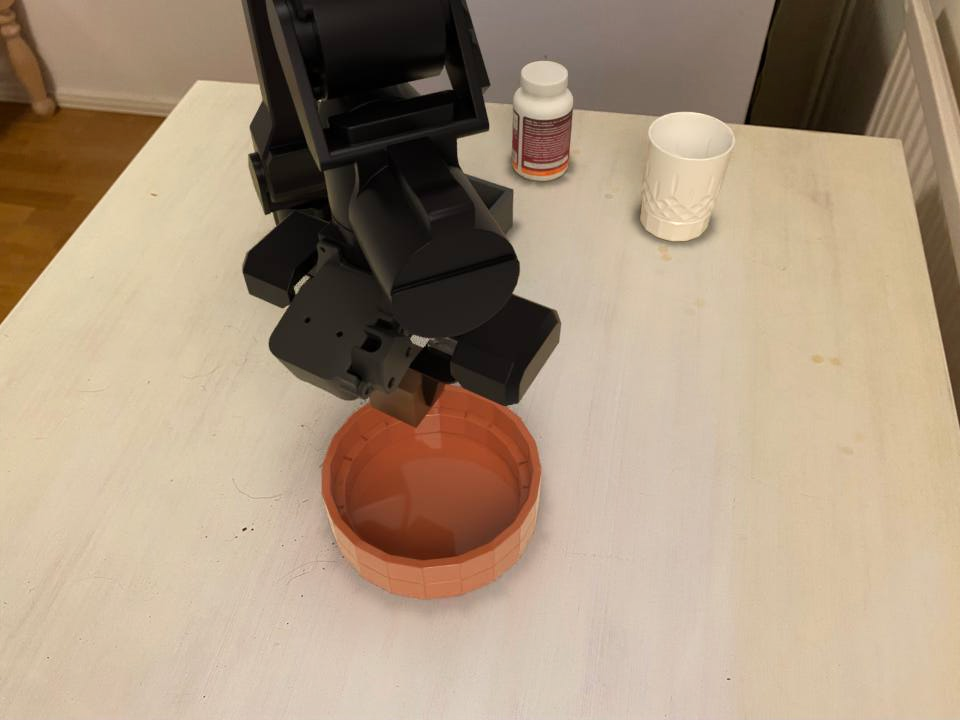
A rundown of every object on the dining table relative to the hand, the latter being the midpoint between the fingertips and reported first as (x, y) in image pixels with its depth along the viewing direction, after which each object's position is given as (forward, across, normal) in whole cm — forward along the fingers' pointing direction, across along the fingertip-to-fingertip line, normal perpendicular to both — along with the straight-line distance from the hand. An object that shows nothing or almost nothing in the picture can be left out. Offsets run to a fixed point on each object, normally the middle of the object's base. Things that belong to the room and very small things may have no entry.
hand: (407, 390), depth 54 cm
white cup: (+11, +6, +39) cm, 41 cm away
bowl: (+11, +2, -1) cm, 11 cm away
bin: (+11, -14, +25) cm, 30 cm away
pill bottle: (+12, -10, +41) cm, 43 cm away
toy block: (+1, 0, 0) cm, 1 cm away
